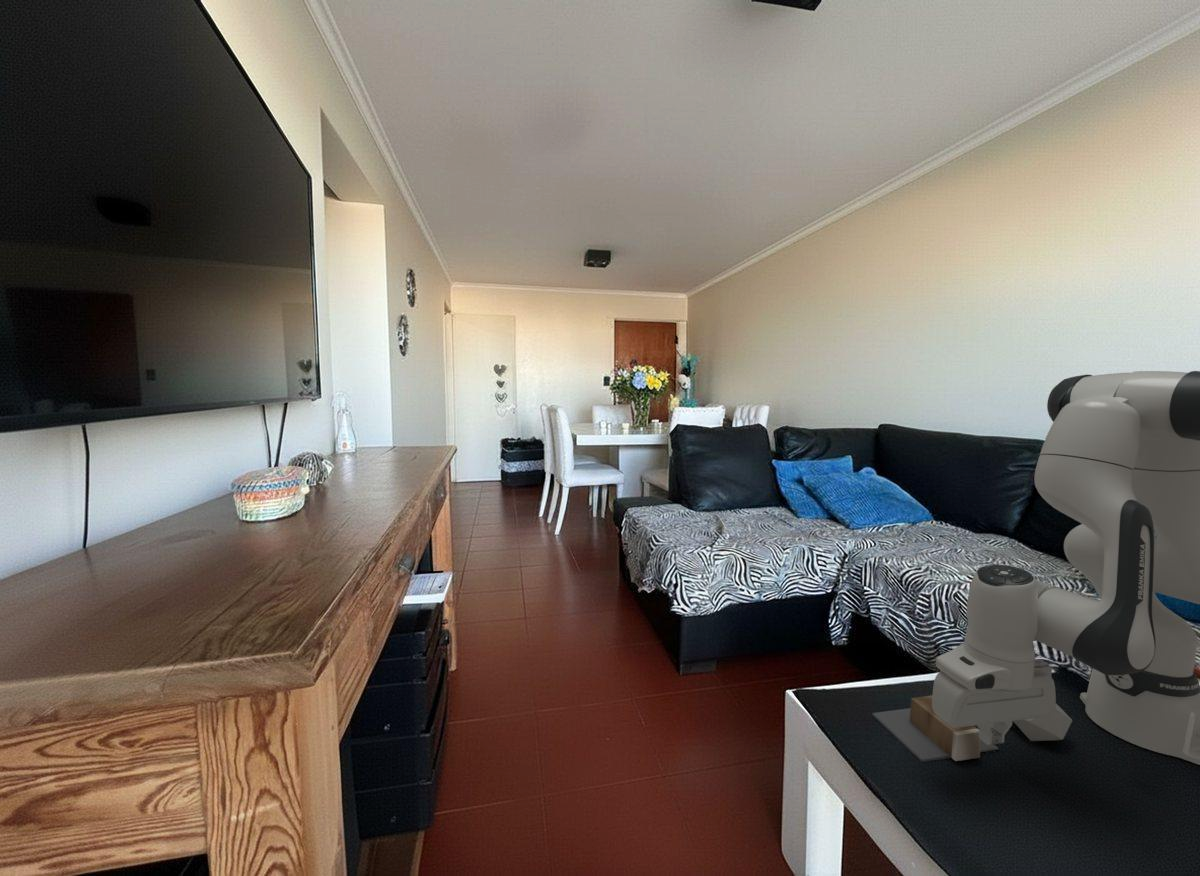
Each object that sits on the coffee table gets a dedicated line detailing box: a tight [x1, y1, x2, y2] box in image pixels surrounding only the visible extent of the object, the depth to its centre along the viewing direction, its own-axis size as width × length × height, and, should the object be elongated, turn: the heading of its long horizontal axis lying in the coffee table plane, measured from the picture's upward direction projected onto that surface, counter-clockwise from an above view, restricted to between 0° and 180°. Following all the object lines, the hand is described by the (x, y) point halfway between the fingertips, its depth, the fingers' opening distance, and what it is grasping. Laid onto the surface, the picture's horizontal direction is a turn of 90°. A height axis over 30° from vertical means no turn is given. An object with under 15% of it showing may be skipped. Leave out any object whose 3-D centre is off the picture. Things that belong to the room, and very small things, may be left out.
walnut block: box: [910, 695, 981, 762], centre depth 86 cm, size 5×5×10 cm
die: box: [1012, 703, 1073, 742], centre depth 88 cm, size 8×9×10 cm
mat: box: [871, 707, 999, 763], centre depth 89 cm, size 16×12×1 cm
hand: (991, 741), depth 77 cm, fingers closed
